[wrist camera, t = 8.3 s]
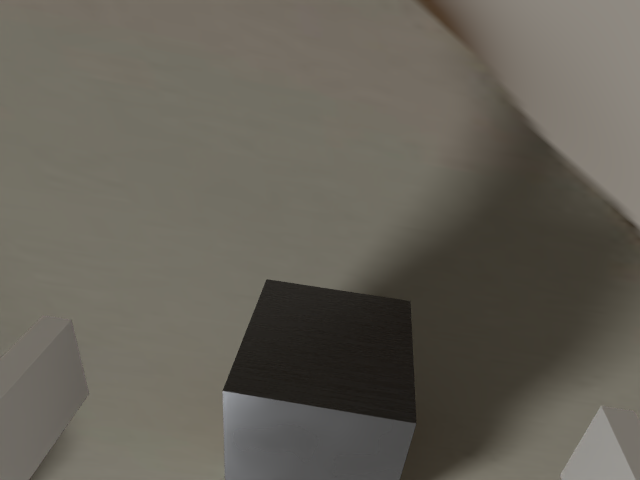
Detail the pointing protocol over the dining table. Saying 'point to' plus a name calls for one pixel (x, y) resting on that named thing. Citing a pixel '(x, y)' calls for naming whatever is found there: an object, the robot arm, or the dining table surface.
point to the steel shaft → (321, 387)
